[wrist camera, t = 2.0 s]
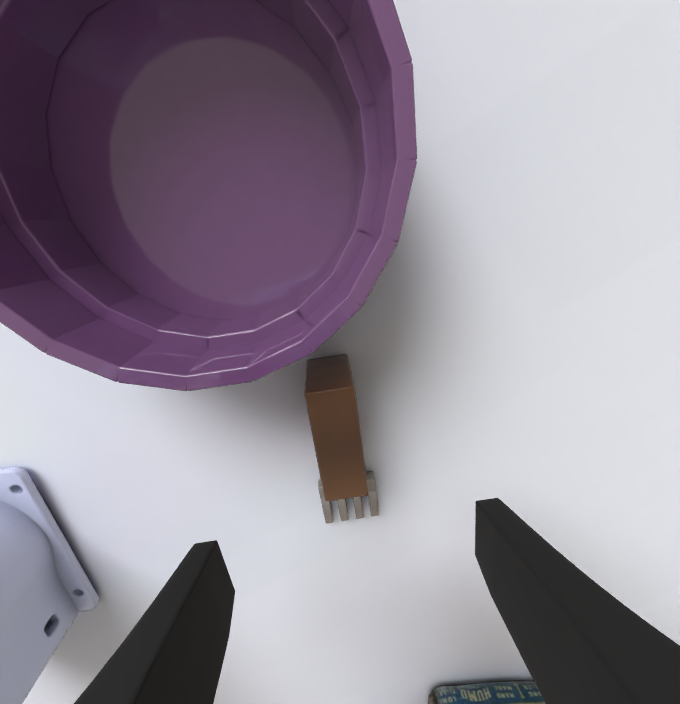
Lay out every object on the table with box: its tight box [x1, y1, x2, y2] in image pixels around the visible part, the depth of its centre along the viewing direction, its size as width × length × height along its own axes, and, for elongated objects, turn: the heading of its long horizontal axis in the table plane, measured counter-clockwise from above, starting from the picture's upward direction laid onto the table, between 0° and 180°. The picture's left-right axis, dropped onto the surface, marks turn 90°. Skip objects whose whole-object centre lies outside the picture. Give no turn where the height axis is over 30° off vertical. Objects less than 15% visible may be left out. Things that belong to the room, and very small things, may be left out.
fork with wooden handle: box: [305, 355, 379, 523], centre depth 15 cm, size 9×3×3 cm, turn 8°
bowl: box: [0, 0, 417, 391], centre depth 10 cm, size 12×12×5 cm
